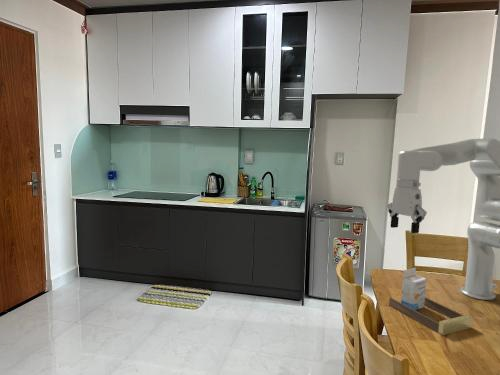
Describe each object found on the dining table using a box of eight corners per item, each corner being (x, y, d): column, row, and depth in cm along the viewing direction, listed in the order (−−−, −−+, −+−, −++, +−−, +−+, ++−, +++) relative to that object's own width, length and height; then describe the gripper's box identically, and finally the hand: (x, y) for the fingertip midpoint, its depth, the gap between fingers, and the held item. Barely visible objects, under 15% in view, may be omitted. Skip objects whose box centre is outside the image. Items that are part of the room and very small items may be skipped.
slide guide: (415, 299, 141) (416, 290, 140) (471, 327, 119) (472, 316, 119) (389, 305, 135) (389, 295, 135) (442, 335, 114) (443, 323, 113)
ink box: (412, 312, 130) (415, 274, 128) (400, 307, 134) (402, 270, 132) (424, 307, 134) (427, 270, 133) (412, 302, 138) (415, 266, 137)
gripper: (435, 186, 120) (431, 234, 122) (397, 182, 136) (394, 224, 138) (419, 187, 117) (415, 236, 119) (382, 182, 133) (379, 225, 135)
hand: (404, 230), depth 128 cm, fingers open, 9 cm apart
